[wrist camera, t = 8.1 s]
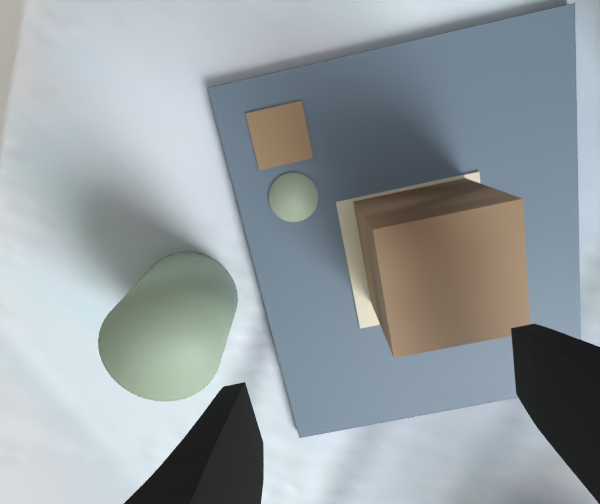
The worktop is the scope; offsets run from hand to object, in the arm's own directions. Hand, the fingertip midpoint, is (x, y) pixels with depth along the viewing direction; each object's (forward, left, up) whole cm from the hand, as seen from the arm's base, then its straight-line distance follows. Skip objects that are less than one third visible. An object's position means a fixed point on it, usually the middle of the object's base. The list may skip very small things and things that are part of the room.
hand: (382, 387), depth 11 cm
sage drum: (+8, 0, -10) cm, 12 cm away
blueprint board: (-3, 0, -10) cm, 10 cm away
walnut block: (-4, -1, -9) cm, 10 cm away
